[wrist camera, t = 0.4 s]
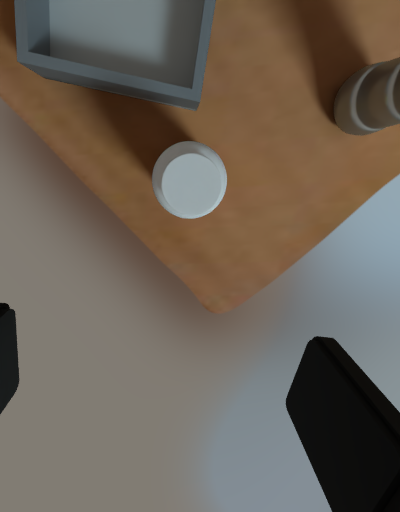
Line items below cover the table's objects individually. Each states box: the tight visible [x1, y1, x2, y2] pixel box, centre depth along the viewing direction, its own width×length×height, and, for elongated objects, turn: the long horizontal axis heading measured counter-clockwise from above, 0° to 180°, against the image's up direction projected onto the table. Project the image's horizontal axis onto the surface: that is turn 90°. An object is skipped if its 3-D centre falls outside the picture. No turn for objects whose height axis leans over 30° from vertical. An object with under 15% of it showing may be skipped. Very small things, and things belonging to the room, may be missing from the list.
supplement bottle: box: [152, 141, 227, 219], centre depth 26 cm, size 7×7×13 cm
